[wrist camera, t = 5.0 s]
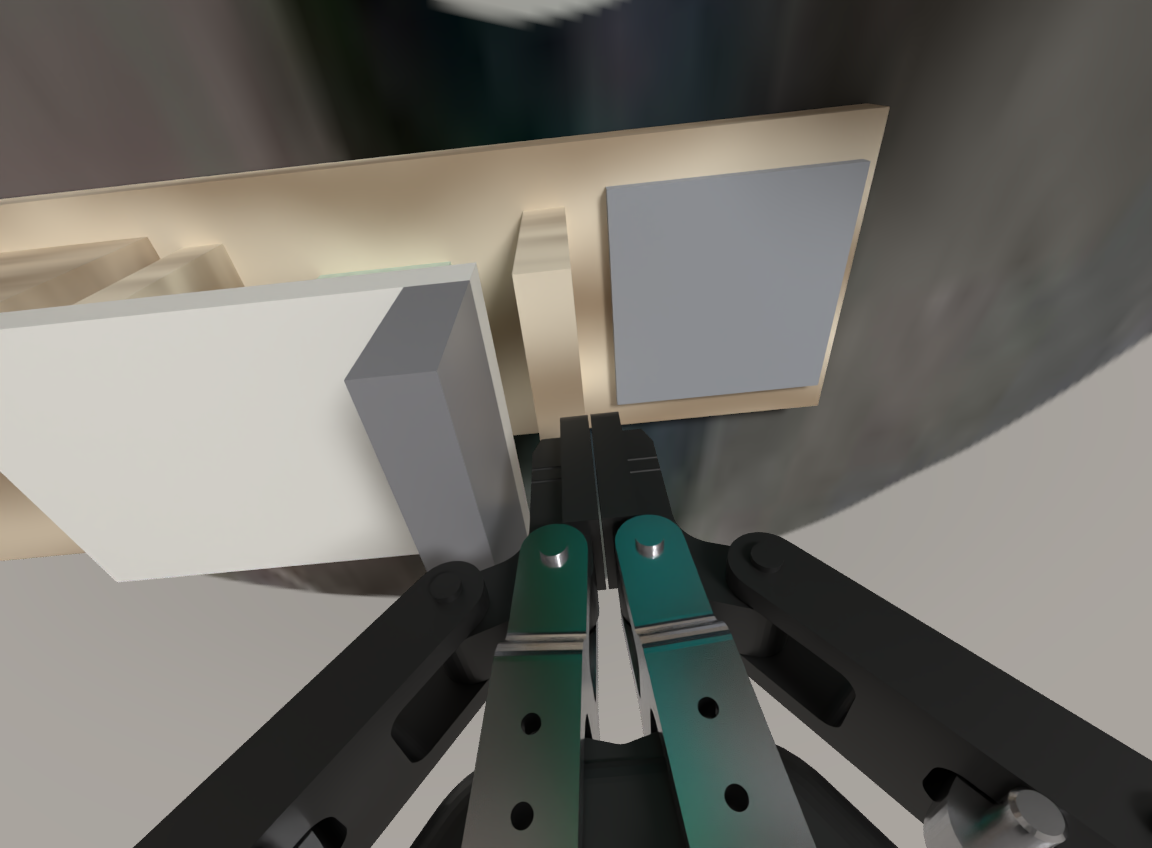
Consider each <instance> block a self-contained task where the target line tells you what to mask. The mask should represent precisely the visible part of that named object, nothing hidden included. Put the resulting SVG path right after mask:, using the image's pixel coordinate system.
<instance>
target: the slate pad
mask: <svg viewBox="0 0 1152 848" xmlns="http://www.w3.org/2000/svg"><path fill="white" fill-rule="evenodd" d="M870 162H871V161H868V160H865V159H857V160H848V161H839V162H830V163H820V164H811V165H802V166H793V167H783V168H774V169H765V170H756V171H747V172H737V173H728V174H719V175H710V176H700V177H691V178H682V179H673V180H664V181H654V182H645V183H636V184H627V185H617V186H608V187H606V205H607V225H608V244H609V264H610V283H611V303H612V322H613V342H614V361H615V381H616V399H617V404H618V405H623V404H633V403H643V402H653V401H663V400H673V399H683V398H693V397H703V396H713V395H723V394H734V393H744V392H754V391H764V390H774V389H784V388H794V387H804V386H814V385H818V383H819V378H820V374H821V370H822V366H823V361H824V357H825V353H826V349H827V344H828V340H829V336H830V332H831V327H832V323H833V319H834V315H835V310H836V306H837V302H838V298H839V294H840V289H841V285H842V281H843V277H844V272H845V268H846V264H847V260H848V255H849V251H850V247H851V243H852V238H853V234H854V230H855V226H856V221H857V217H858V213H859V209H860V204H861V200H862V196H863V192H864V187H865V183H866V179H867V175H868V171H869V166H870Z"/></svg>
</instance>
